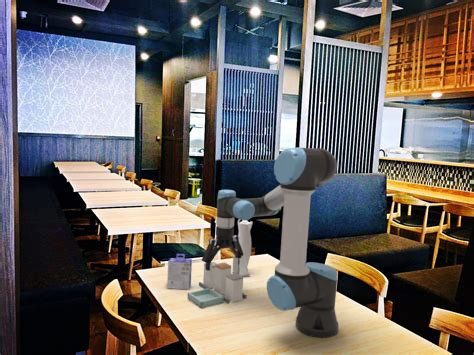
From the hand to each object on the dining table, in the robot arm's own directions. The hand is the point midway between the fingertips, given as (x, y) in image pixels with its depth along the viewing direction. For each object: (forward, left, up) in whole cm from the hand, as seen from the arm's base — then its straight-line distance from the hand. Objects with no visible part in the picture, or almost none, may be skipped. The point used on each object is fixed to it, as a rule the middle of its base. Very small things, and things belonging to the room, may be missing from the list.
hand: (222, 274), depth 175 cm
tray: (-4, +11, -8) cm, 14 cm away
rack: (0, 0, -8) cm, 8 cm away
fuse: (0, 0, -8) cm, 8 cm away
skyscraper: (+13, -21, -8) cm, 26 cm away
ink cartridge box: (+14, +13, -8) cm, 20 cm away
